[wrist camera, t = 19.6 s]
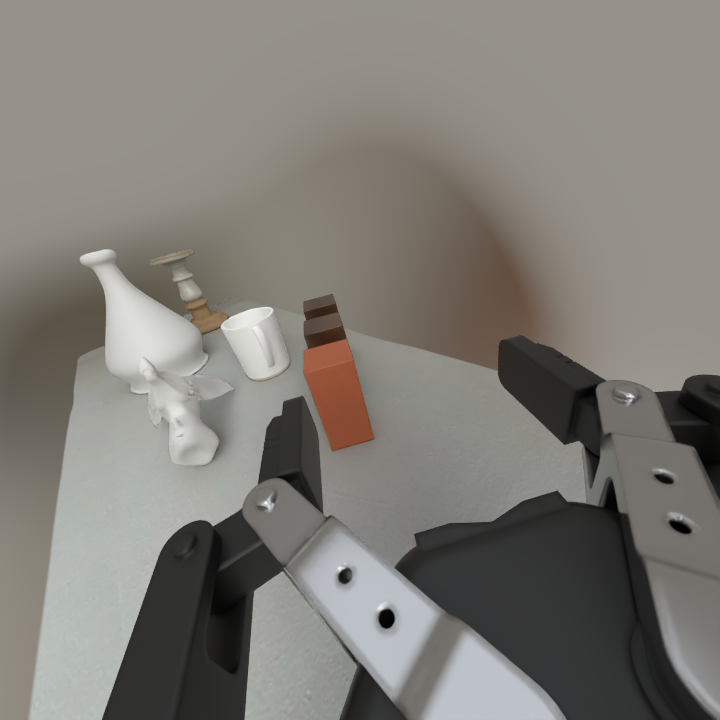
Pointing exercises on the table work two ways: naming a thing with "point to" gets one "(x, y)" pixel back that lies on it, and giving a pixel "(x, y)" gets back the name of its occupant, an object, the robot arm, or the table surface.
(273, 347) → the mug
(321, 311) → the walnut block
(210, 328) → the candle holder
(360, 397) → the terracotta block
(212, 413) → the table surface
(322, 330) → the walnut block mid
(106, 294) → the vase
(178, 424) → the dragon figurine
